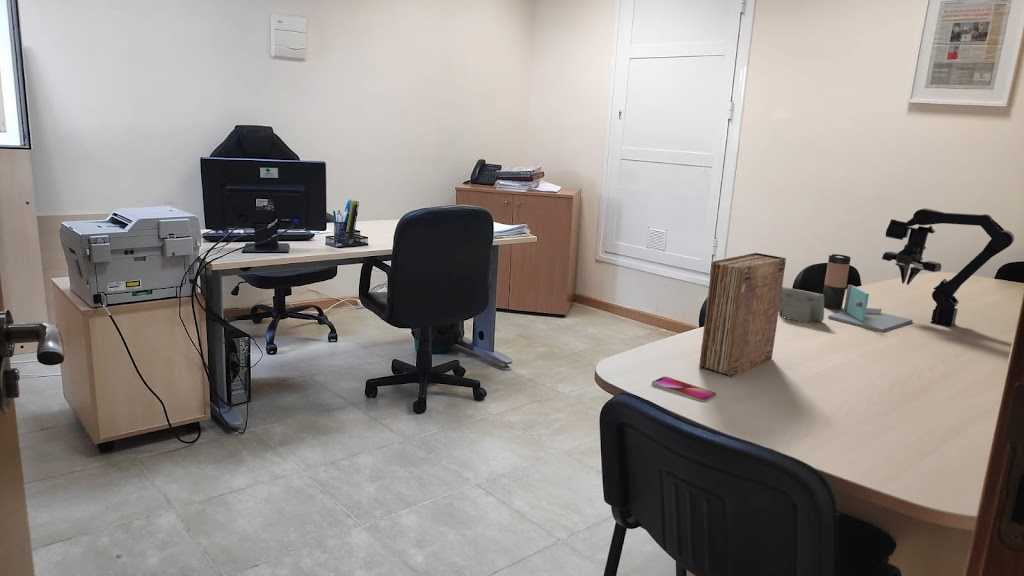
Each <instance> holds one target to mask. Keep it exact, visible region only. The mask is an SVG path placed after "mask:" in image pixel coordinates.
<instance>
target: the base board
mask: <svg viewBox="0 0 1024 576" xmlns="http://www.w3.org/2000/svg"><path fill="white" fill-rule="evenodd" d="M827 319H829V320H833V321H836V322H841V323H845V324H849V325H853V326H857V327H861V328H865V329H869V330H872V331H876V332H879V333H883V332H887V331H889V330H892V329H896V328H899V327H903V326H906V325H909V324H911V323H913V319H911V318H910V319H909V318H907V317H903V316H899V315H894V314H890V313H886V312H882V308H880V307H868V306H867V309H866V314H865V320H864V322H861V321H860V320H858V319H856V318H855V317H853V316H852V315H850V314H848V313H847V312H844V310H841V311H840V312H838V313H833V314H829V315H828V317H827Z"/></svg>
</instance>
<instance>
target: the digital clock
mask: <svg viewBox="0 0 1024 576" xmlns="http://www.w3.org/2000/svg"><path fill="white" fill-rule="evenodd" d="M781 313H782V314H781ZM778 314H781V315H782V317H785V318H784V319H786V318H789V319H788V320H790V319H793V320H792V321H795V320H797V321H796V322H799V321H801V322H800V323H804V322H806V323H805V324H808V323H810V322H812V321H813V322H818V323H819V322H820V323H821V322H823V321H824V318H825V317H824V316H825V307H824V296H823V293H817V292H812V291H807V290H802V289H796V288H791V287H787V286H786V287H785V286H782V291H781V298H780V305H779V312H778Z"/></svg>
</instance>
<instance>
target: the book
mask: <svg viewBox="0 0 1024 576" xmlns="http://www.w3.org/2000/svg"><path fill="white" fill-rule="evenodd" d="M786 262H787V258H786V257H782V256H781V257H780V256H775V255H770V254H763V253H758V252H753V253H749V254H743V255H738V256H734V257H728V258H723V259H718V260H712V262H711V267H710V277H709V285H708V293H707V300H706V301H707V302H706V310H705V316H704V317H705V318H704V324H703V332H702V333H703V334H702V342H701V348H700V350H701V351H700V357H699V366H698V369H700V368H701V369H703V368H702V367H704V368H705V369H709V370H712V371H715V372H718V373H721V374H725V375H728V377H729V378H733V377H735V376H737V375H739V374H741V373H740V372H742V373H744V372H746V371H747V369H748V370H750V369H752V367H753V368H754V366H755V367H757V366H759V365H760V364H763V363H765V362H768V361H770V360H772V359H773V352H774V346H775V339H776V338H775V337H776V334H777V333H776V332H777V325H778V318H779V305H780V298H781V291H782V287H783V285H784V284H783V282H784V275H785V268H786ZM756 365H757V366H756ZM749 368H750V369H749ZM745 370H746V371H745ZM743 371H744V372H743ZM738 373H739V374H738ZM736 374H737V375H736ZM734 375H735V376H734ZM732 376H733V377H732Z"/></svg>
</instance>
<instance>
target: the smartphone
mask: <svg viewBox="0 0 1024 576" xmlns="http://www.w3.org/2000/svg"><path fill="white" fill-rule="evenodd" d="M651 387H654V388H658V389H661V390H664V391H668V392H670V393H673V394H676V395H679V396H683V397H686V398H688V399H689V398H690V399H692V400H695V401H698V402H703V403H704V402H705V403H706V402H708V401H710V400H712V399H713V398H715V397H716V396H717V393H716V392H715V391H712V390H709V389H705V388H702V387H700V386H696V385H693V384H690V383H687V382H684V381H682V380H678V379H676V378H672V377H669V376H662V377H660V378H658V379H656V380H653V381H652V382H651Z"/></svg>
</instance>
